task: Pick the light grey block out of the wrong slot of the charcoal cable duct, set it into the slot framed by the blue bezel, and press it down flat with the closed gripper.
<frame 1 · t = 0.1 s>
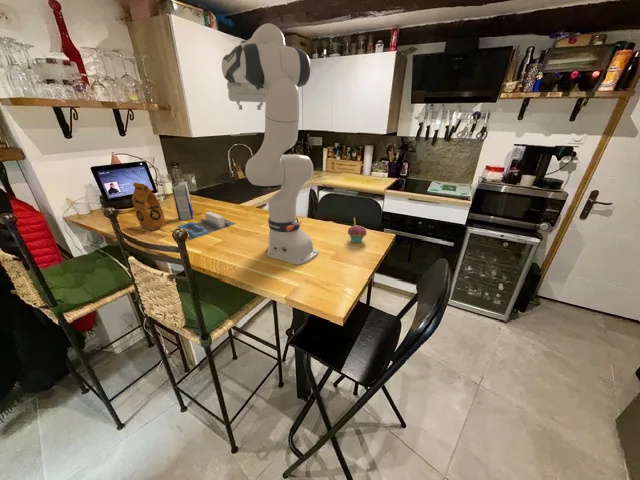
hand: (249, 109, 135), 54 cm above the breakfast bar, tool tilted 30°, fingers open, 8 cm apart
coffee package: (154, 227, 132), on the breakfast bar
duct board: (205, 229, 130), on the breakfast bar
cupcake: (356, 240, 121), on the breakfast bar
light grey block: (215, 223, 134), point 1 cm above the breakfast bar, touching duct board
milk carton: (187, 219, 142), on the breakfast bar
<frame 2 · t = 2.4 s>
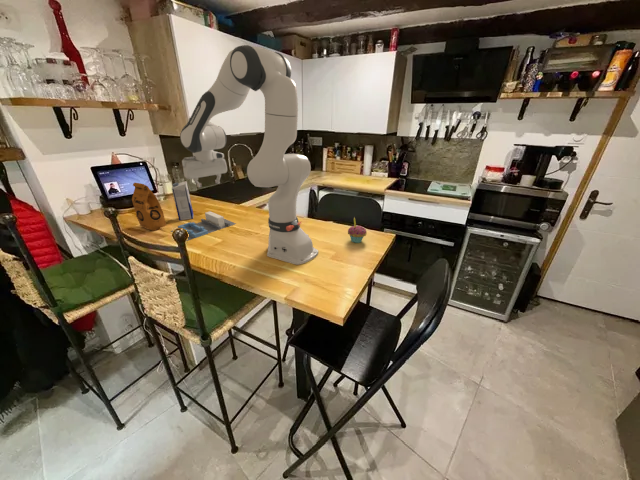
hand: (208, 185, 125), 21 cm above the breakfast bar, tool pointing down, fingers open, 8 cm apart
nothing on the breakfast bar moved.
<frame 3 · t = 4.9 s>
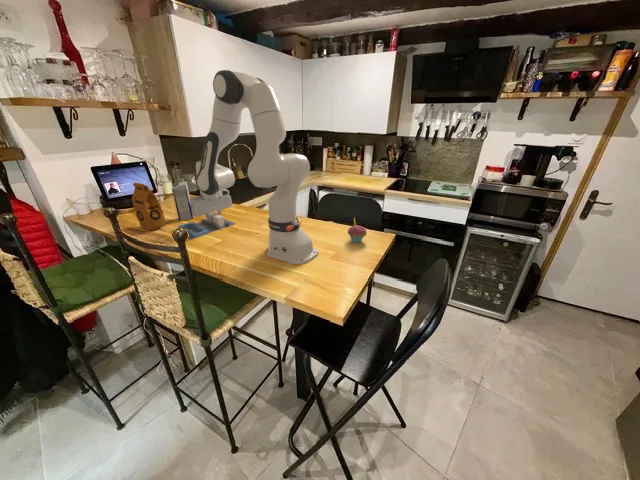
hand: (214, 219, 133), 3 cm above the breakfast bar, tool pointing down, fingers closed on light grey block, 3 cm apart
light grey block: (215, 223, 134), point 1 cm above the breakfast bar, touching duct board, gripper
everything else where it was.
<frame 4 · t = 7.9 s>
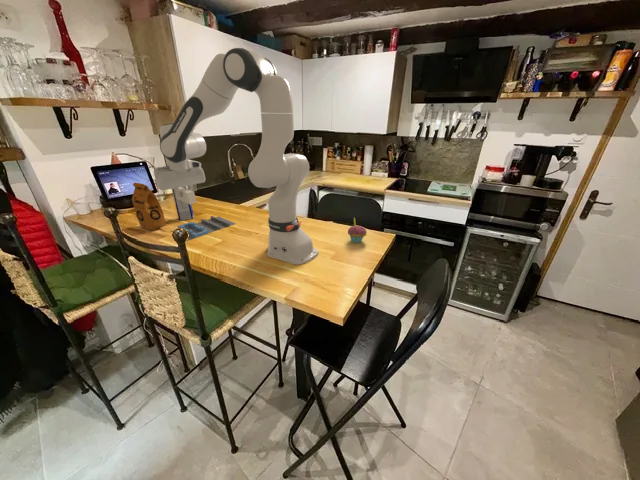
hand: (185, 195, 118), 18 cm above the breakfast bar, tool pointing down, fingers closed on light grey block, 3 cm apart
light grey block: (186, 200, 119), point 16 cm above the breakfast bar, touching gripper
everything else where it was.
when the fingers open (4 cm above the breakfast bar, at t = 11.0 s): light grey block stays where it is, resting on duct board.
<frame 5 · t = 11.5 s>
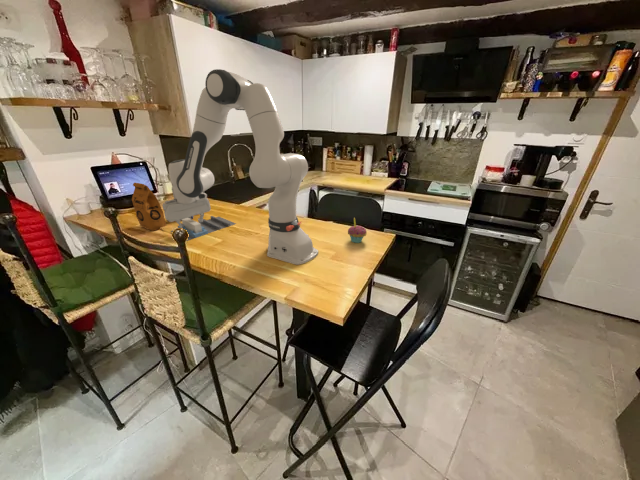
hand: (191, 224, 124), 4 cm above the breakfast bar, tool pointing down, fingers open, 8 cm apart
light grey block: (193, 231, 125), point 1 cm above the breakfast bar, touching duct board
everything else where it was.
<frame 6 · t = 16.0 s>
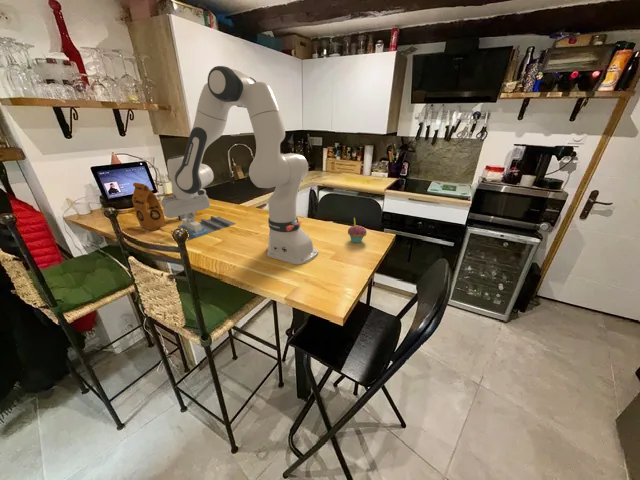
hand: (190, 221, 123), 6 cm above the breakfast bar, tool pointing down, fingers closed, pressing on light grey block
light grey block: (193, 231, 125), point 1 cm above the breakfast bar, touching duct board, gripper
everything else where it was.
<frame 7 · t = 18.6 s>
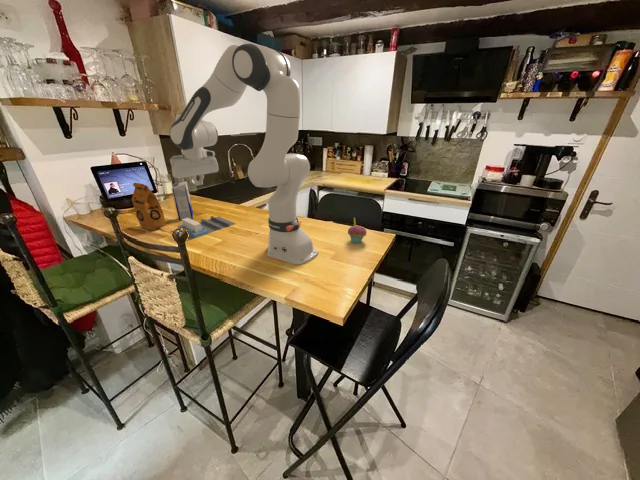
hand: (199, 185, 120), 22 cm above the breakfast bar, tool pointing down, fingers closed
light grey block: (193, 231, 125), point 1 cm above the breakfast bar, touching duct board
everything else where it was.
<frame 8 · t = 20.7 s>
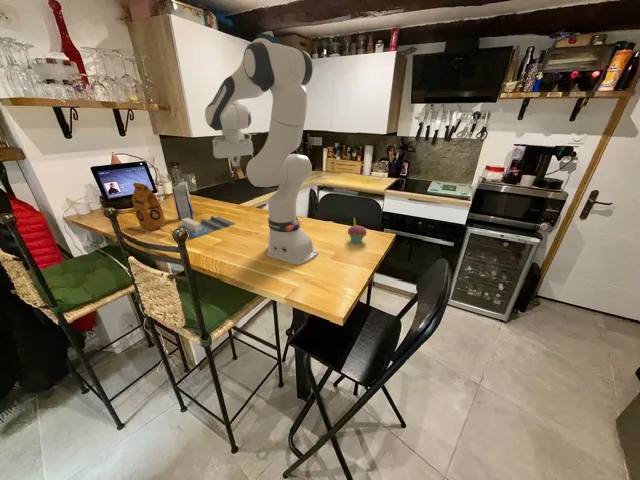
hand: (235, 165, 128), 29 cm above the breakfast bar, tool pointing down, fingers closed
nothing on the breakfast bar moved.
at the end: light grey block 0.0 cm from the target spot on the duct board, point 1.0 cm above the duct board's base; light grey block tilted 0°; the gripper is holding nothing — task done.
